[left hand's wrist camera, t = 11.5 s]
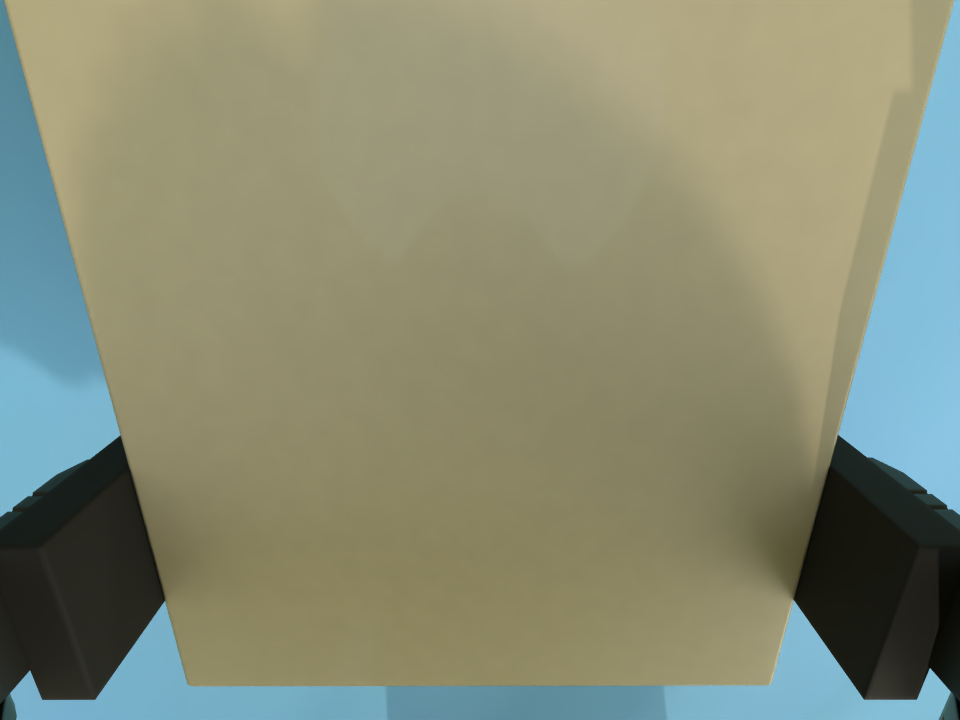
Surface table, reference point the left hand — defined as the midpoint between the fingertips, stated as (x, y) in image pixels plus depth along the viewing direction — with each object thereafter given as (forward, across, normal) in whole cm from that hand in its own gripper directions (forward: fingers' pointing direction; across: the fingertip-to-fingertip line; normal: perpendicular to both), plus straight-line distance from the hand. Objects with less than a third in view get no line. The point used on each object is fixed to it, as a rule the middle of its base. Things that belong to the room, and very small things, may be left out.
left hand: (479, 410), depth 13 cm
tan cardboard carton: (+5, 0, -7) cm, 8 cm away
